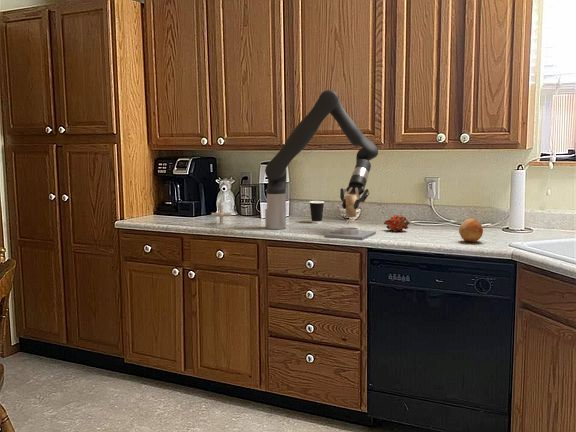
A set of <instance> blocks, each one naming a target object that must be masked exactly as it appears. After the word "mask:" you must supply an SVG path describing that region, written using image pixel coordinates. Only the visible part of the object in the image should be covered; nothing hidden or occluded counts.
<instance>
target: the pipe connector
mask: <svg viewBox="0 0 576 432" xmlns="http://www.w3.org/2000/svg"><path fill="white" fill-rule="evenodd" d="M218 209H219V211H218V212H211V217H219V225H223V224H224V217H231V216H232V212H224V205H223V204H219V208H218Z"/></svg>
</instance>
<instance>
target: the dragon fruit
mask: <svg viewBox="0 0 576 432" xmlns="http://www.w3.org/2000/svg"><path fill="white" fill-rule="evenodd" d="M409 224H410V222H409V220H408V219H407V217H405V216H404V215H401V214H399V215H397V214H394V215H393V216H391V217H390V218H389V219H386V220H384V222H383V225H386V228H387V230H389V231H393V232H397V231H399V232H403V229H404V230H408V228H409V227H408V226H409Z"/></svg>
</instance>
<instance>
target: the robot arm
mask: <svg viewBox="0 0 576 432" xmlns="http://www.w3.org/2000/svg"><path fill="white" fill-rule="evenodd" d="M346 111H347V110H345V109H344V106H343V105H342V103H341V101H340V99H339V96H338V93H337V92H336V91H335V90H332V89H326V90H324V91H322V92H321V93H320V95H319V97H318V99H316V102H315V104H314V105H313V107H312V108H311V110H310V111H309V112H308V113H307V114H306V115H305V117H303V118H302V119H301V120H300V122H299V123H298V124H297V125H296V126H295V128H293V130H292V132H291V133H290V135H289V136H288V138H287V139H286V140H285V142H284V144H283V145H282V146H281V149H279V151H278V153H277V154H276V155H275V156H274V157H273V158H272V159H271V160H270V161H269V162H267V163H266V166H265V170H264V171H265V175H266V177H267V187H266V208H265V210H264V213H265V219H264V221H265V222H264V223H265V229H269V230H284V229H286V227H287V221H286V220H287V219H286V217H287V216H286V215H287V210H286V209H287V208H286V206H287V205H286V199H287V198H286V197H287V196H286V195H287V194H286V190H287V168H288V166H289V165H290V164H291V162H292V161H293V159H294V158H295V157H296V156H297V155H299V153H300V152H302V151H303V149H304V148H305V147H306V146H307V145H308V144H309V143H310V141H311V140H312V138H313V137H314V136H315V134H316V133H317V131H318V130H319V127H320V126H321V124H322V122H324V120H325V119H326V118H327V116H328V115H331V116H332V118H333V119H334V120H335V121H336V123H337V124H338V126H339V127H340V129H341V130H342V132H343V134H344V135H345V136H346V138H347V140H348V141H349V142H350V144H351V145H352V146H354V147H357V146H360V147H361V148H360V149H359V150H358V151H357V153H356V159H355V161H356V163H355V167H354V170H353V171H352V174H351V177H350V179H349V182H348V186H347V187H346V188H343V187H342V188H340V189H339V190H340V195H339V198H340V200H341V202H342V204H341V206H342V208H343V209H344V210H346V194H349V193H356V201H355V204H354V209H356V210H358V208H359V205H360V204H361V203H365V202H366V199H367V198H368V196H369V195H370V190H369V189H367V188H366V186H367V182H368V180H369V175H370V171H371V169H372V168H371V167H372V164H371V162H370V161H372V160H373V159H375V158H376V157H377V156H378V155H379V149H378V147H377V145H376V144H375V143H374V142H373V141H371V140H370V139H369V138H368V137H366V136H365V135H364V133H363V132H362V130H360V128H359V126H358V125H357V123H356V122H355V121H354V120H353V119H352V118H351V117H350V116H349V114H348V113H347V112H346ZM365 188H366V189H365Z"/></svg>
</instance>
